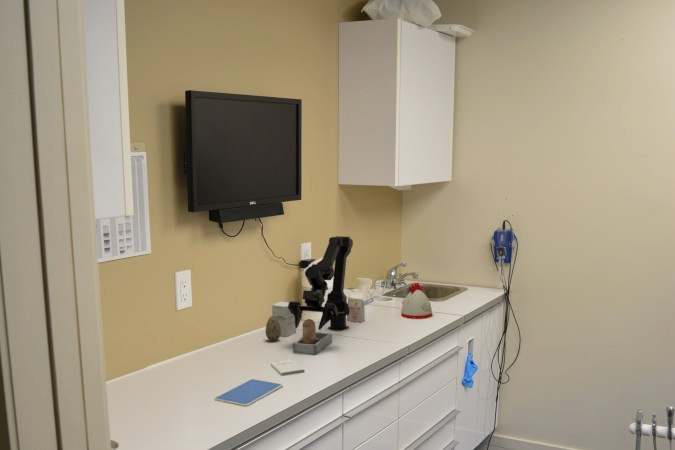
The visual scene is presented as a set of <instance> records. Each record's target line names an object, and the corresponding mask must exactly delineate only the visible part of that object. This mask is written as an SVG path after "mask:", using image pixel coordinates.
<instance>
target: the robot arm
mask: <svg viewBox="0 0 675 450" xmlns="http://www.w3.org/2000/svg"><path fill="white" fill-rule="evenodd" d="M353 245H354V241H353V239H351V237H350V236H342V235H341V236H339V235H336V236H331V237H329V239H328V244H327V248H326V250H325V252H324V255H323V257H322V259H321V260H320V261H318V262H317V263H315V264H314V263H312V265H311V266H309V267H308V268H307V269H305V271H304V276H305V277H306V279H307V282H308V284H309V285H310V286H311V289H310V290H307V289H306V290H303V291H302V300H304V304H306V305H302V304H301V302H300V301H297V300H296V301H294V300H293V301H288V302H289V304H288V308H289V310H290V312H291V314H293V315H294V316H295V327H296V329H298V327H299V326H300V321H301V319H302V317H303V315H302V314H303V312H317V313H322V315H321V318H320V321H319V324H318V331H321V330H322V328H324V327H325V325H326V324H327V323H329V322H330V323H329V324H330V326H328V327H327V329H329V330H333V329H334V331H338V330H340V331H343V330H345V329H349V328H350V326H347V315H349V312H350V308H349V306H348V299H347V295H346V294H345V292H344V290H345V289H344V288H345V276H346V266H347V258H348V256H349V255H350V254H351V252H352V248H353ZM331 280H333V281H332V289H331V291H330V292H328V293H327V298H326V299H325V296H326V292H327V290H329V287H328V282H327V281H331ZM325 300H326V301H325ZM323 303H324V305H323Z"/></svg>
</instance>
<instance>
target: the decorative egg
mask: <svg viewBox="0 0 675 450" xmlns="http://www.w3.org/2000/svg"><path fill="white" fill-rule="evenodd" d="M280 334H281V328H280V324H279V322H278V320H277V318H276V317H275V316H272V315H271V316H269V318H268V320H267V322H266V325H265V335H266V338H267V339H268V340H269V341H272V342H275V341H277V340H279V338H280V337H281V335H280Z"/></svg>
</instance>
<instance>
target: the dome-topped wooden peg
mask: <svg viewBox="0 0 675 450" xmlns="http://www.w3.org/2000/svg"><path fill="white" fill-rule="evenodd" d="M315 332H316V323H315V321H314V319H313V320H312V319H310V318H307V319H305V320H304V321H303V322H302V337H303V344H313V345H315V344H316V334H315Z"/></svg>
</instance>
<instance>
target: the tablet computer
mask: <svg viewBox="0 0 675 450" xmlns="http://www.w3.org/2000/svg"><path fill="white" fill-rule="evenodd" d="M281 388H283V384H281V383H277V382H270V381H265V380H259V379H254V378H253V379H252V378H251V379H249V380H248V381H247V380H246V382H244V383H241V384H240V385H238V386H236V387H234V388H232V389H230V390H228V391H225V392H224V393H222V394H220V395H218V396H216V397H215V398H213V399H214V401H216V402H221V403H226V404H230V405H235V406H239V407H240V406H241V407H244V408H245V407H246V408H248V407H249V406H251V405H253V404H254V403H256V402H258V401H259V400H262V399H263V398H265V397H267V396H268V395H270V394H272V393H273V392H275V391H277V390H279V389H281Z"/></svg>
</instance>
